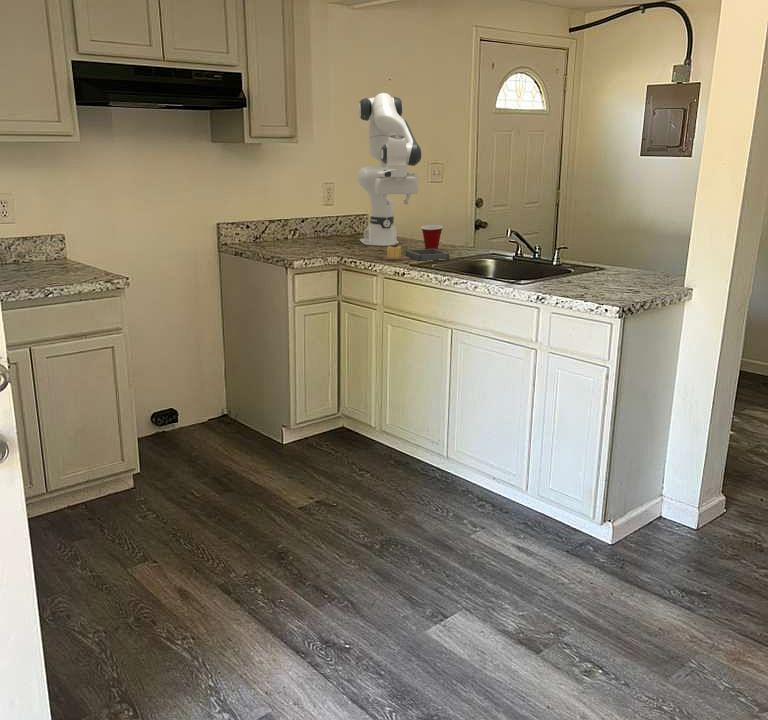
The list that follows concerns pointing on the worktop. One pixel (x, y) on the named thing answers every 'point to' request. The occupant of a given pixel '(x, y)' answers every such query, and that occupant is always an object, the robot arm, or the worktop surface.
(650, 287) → the worktop surface
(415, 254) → the tray
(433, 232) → the plastic cup
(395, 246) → the wooden peg stand
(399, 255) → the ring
